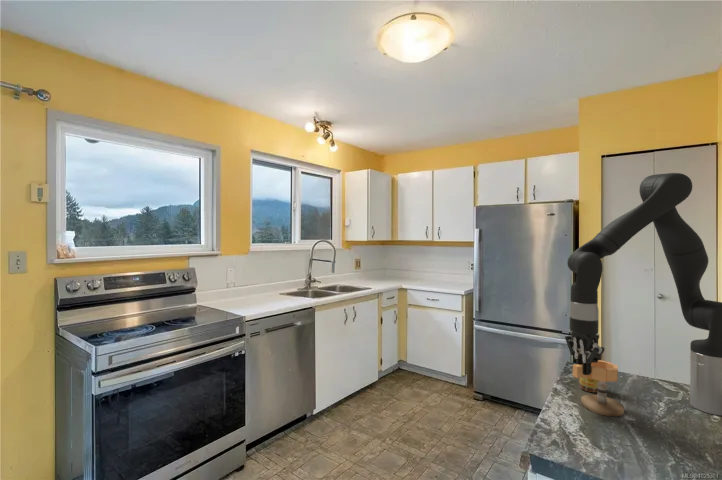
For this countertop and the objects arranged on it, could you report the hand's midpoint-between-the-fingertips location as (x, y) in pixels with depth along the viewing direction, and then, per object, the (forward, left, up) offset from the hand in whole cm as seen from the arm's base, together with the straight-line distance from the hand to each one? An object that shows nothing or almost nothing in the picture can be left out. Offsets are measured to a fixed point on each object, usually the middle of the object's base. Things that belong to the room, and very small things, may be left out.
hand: (583, 372), depth 108 cm
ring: (-4, 0, -1) cm, 4 cm away
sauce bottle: (-13, -12, -12) cm, 21 cm away
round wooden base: (-7, 0, -11) cm, 13 cm away
